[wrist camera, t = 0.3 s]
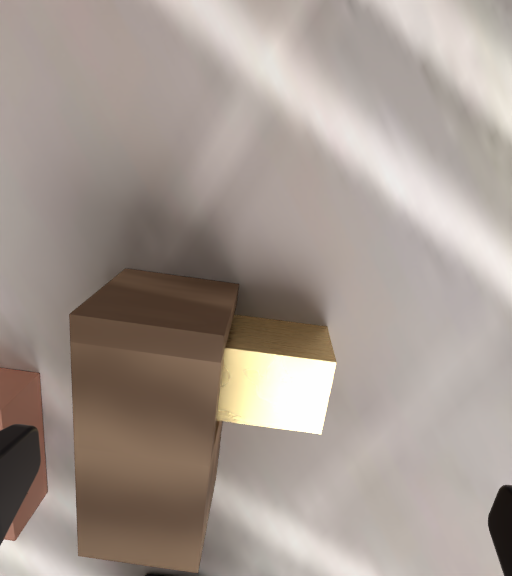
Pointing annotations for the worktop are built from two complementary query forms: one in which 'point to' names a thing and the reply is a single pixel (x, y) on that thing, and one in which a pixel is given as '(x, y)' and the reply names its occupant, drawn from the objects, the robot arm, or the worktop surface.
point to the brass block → (276, 374)
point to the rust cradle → (24, 410)
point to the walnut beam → (148, 415)
